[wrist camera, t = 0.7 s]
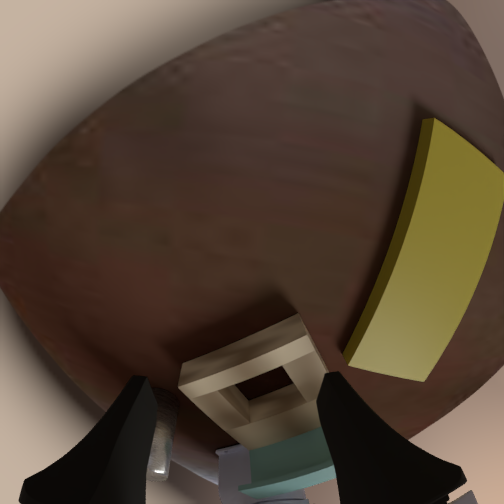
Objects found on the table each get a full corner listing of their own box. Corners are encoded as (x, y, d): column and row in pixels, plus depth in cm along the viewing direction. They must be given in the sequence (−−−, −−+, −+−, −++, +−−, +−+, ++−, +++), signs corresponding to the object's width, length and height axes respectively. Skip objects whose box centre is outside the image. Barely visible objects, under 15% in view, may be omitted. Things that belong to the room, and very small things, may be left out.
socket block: (251, 432, 26) (252, 453, 23) (182, 363, 22) (177, 387, 19) (342, 397, 25) (350, 417, 22) (298, 313, 21) (307, 334, 18)
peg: (158, 414, 24) (144, 481, 16) (134, 392, 23) (111, 462, 15) (187, 407, 24) (177, 480, 16) (163, 383, 23) (144, 460, 14)
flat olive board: (418, 119, 17) (330, 369, 24) (434, 117, 15) (337, 384, 22) (493, 174, 19) (415, 370, 26) (508, 177, 17) (423, 381, 24)
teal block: (252, 453, 23) (256, 499, 17) (236, 440, 22) (238, 491, 16) (350, 417, 22) (368, 464, 16) (342, 402, 21) (362, 453, 15)
